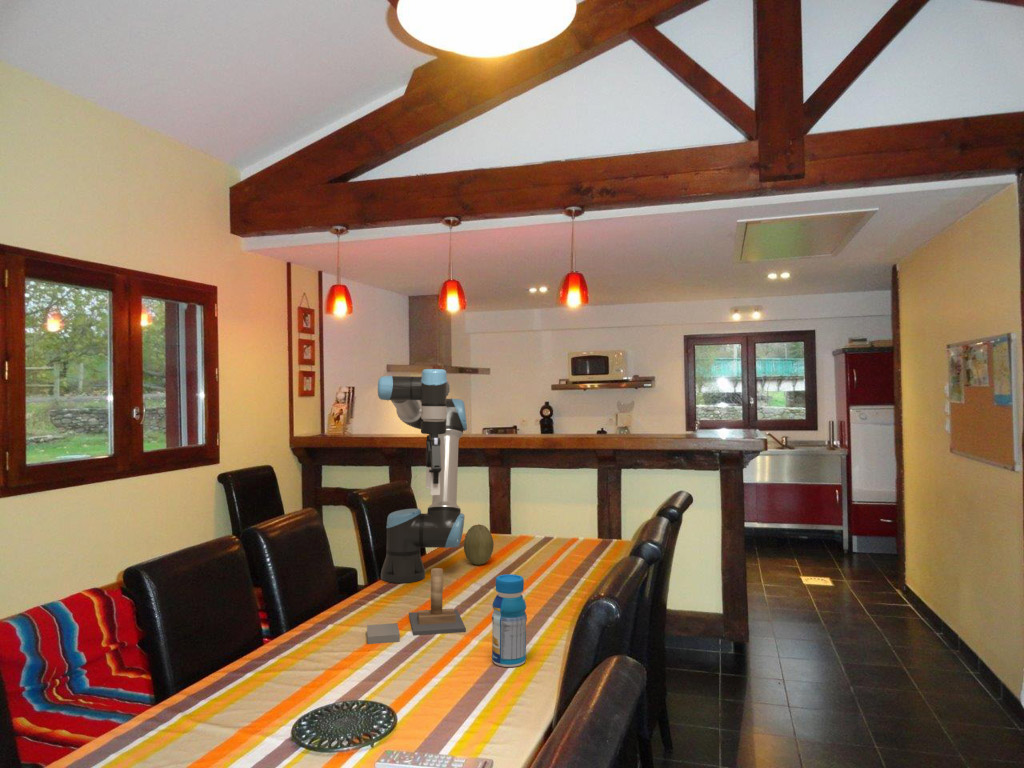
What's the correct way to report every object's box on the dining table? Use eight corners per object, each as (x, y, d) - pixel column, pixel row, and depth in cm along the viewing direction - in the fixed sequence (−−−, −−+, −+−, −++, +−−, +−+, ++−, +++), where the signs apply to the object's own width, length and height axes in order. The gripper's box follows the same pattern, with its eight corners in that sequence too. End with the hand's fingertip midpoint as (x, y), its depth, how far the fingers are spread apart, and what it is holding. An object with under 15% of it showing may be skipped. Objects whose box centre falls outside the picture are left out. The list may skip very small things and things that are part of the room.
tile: (367, 625, 182) (367, 636, 173) (397, 623, 184) (399, 634, 175) (367, 633, 182) (367, 645, 173) (397, 631, 184) (399, 643, 175)
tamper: (417, 617, 191) (418, 567, 191) (452, 615, 193) (453, 566, 193) (419, 624, 185) (419, 573, 185) (455, 622, 187) (456, 571, 188)
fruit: (499, 563, 258) (499, 523, 258) (482, 569, 249) (482, 528, 249) (474, 559, 264) (475, 520, 265) (457, 565, 255) (457, 524, 255)
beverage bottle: (514, 671, 157) (515, 584, 157) (484, 663, 162) (485, 578, 162) (532, 659, 164) (533, 576, 165) (503, 652, 169) (504, 571, 169)
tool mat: (408, 616, 195) (408, 612, 195) (457, 613, 198) (457, 609, 198) (413, 635, 180) (413, 631, 180) (465, 631, 183) (465, 628, 183)
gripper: (417, 419, 215) (416, 486, 215) (425, 422, 191) (424, 498, 190) (441, 419, 217) (440, 485, 216) (451, 422, 192) (450, 497, 192)
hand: (432, 491), depth 203 cm, fingers open, 13 cm apart
